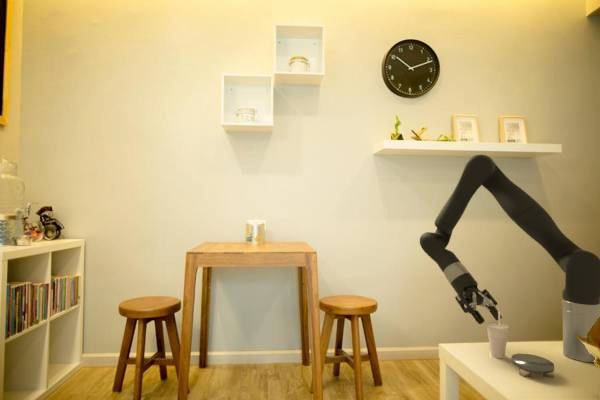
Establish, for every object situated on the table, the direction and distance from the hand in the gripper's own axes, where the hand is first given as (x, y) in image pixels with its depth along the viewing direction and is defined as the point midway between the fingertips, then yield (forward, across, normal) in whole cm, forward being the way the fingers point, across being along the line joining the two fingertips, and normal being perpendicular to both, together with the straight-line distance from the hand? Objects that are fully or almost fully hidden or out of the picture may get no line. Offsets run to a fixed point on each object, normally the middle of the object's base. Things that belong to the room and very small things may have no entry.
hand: (491, 321), depth 112 cm
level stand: (+17, -2, -2) cm, 17 cm away
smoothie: (+9, 0, +6) cm, 11 cm away
